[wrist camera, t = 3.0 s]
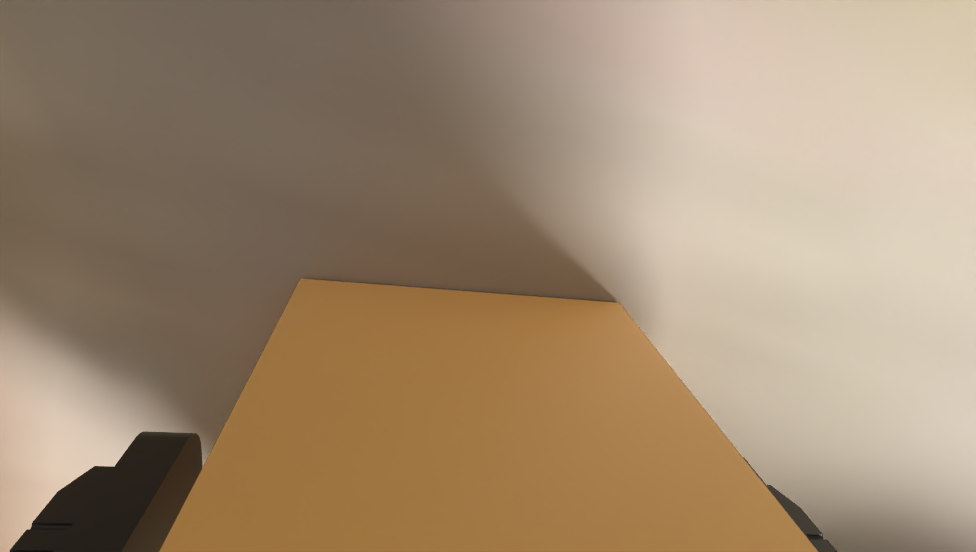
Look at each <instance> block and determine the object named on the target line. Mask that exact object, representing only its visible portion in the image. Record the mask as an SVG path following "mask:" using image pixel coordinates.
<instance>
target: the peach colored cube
mask: <svg viewBox="0 0 976 552" xmlns="http://www.w3.org/2000/svg"><path fill="white" fill-rule="evenodd" d="M159 552H818V551H817V550H816V548H815V547H814V546H813V545H812V543H811V542H810V541H809V540H808V538H807V537H806V536H805V535H804V533H803V532H802V531H801V530H800V528H799V527H798V526H797V525H796V523H795V522H794V521H793V520H792V518H791V517H790V516H789V515H788V513H787V512H786V511H785V509H784V508H783V507H782V506H781V504H780V503H779V502H778V501H777V499H776V498H775V497H774V496H773V494H772V493H771V492H770V491H769V489H768V488H767V487H766V486H765V484H764V483H763V482H762V481H761V479H760V478H759V477H758V476H757V474H756V473H755V472H754V471H753V469H752V468H751V467H750V466H749V464H748V463H747V462H746V461H745V459H744V458H743V457H742V456H741V454H740V453H739V452H738V451H737V449H736V448H735V447H734V446H733V444H732V443H731V442H730V441H729V439H728V438H727V437H726V436H725V434H724V433H723V432H722V431H721V429H720V428H719V427H718V426H717V424H716V423H715V422H714V421H713V419H712V418H711V417H710V416H709V414H708V413H707V412H706V411H705V409H704V408H703V407H702V406H701V404H700V403H699V402H698V401H697V399H696V398H695V397H694V396H693V394H692V393H691V392H690V391H689V389H688V388H687V387H686V386H685V384H684V383H683V382H682V381H681V379H680V378H679V377H678V376H677V374H676V373H675V372H674V371H673V369H672V368H671V367H670V366H669V364H668V363H667V362H666V361H665V359H664V358H663V357H662V356H661V354H660V353H659V352H658V351H657V349H656V348H655V347H654V346H653V344H652V343H651V342H650V341H649V339H648V338H647V337H646V336H645V334H644V333H643V332H642V331H641V329H640V328H639V327H638V326H637V324H636V323H635V322H634V321H633V319H632V318H631V317H630V316H629V314H628V313H627V312H626V311H625V309H624V308H623V307H622V306H621V304H620V303H617V302H604V301H591V300H577V299H564V298H551V297H538V296H525V295H512V294H498V293H485V292H472V291H459V290H446V289H433V288H419V287H406V286H393V285H380V284H367V283H354V282H340V281H327V280H314V279H300V281H299V282H298V284H297V286H296V288H295V290H294V292H293V294H292V296H291V298H290V300H289V302H288V304H287V306H286V308H285V310H284V311H283V313H282V315H281V317H280V319H279V321H278V323H277V325H276V327H275V329H274V331H273V333H272V335H271V337H270V339H269V341H268V342H267V344H266V346H265V348H264V350H263V352H262V354H261V356H260V358H259V360H258V362H257V364H256V366H255V368H254V370H253V371H252V373H251V375H250V377H249V379H248V381H247V383H246V385H245V387H244V389H243V391H242V393H241V395H240V397H239V399H238V400H237V402H236V404H235V406H234V408H233V410H232V412H231V414H230V416H229V418H228V420H227V422H226V424H225V426H224V428H223V429H222V431H221V433H220V435H219V437H218V439H217V441H216V443H215V445H214V447H213V449H212V451H211V453H210V455H209V457H208V458H207V460H206V462H205V464H204V466H203V468H202V470H201V472H200V474H199V476H198V478H197V480H196V482H195V484H194V486H193V487H192V489H191V491H190V493H189V495H188V497H187V499H186V501H185V503H184V505H183V507H182V509H181V511H180V513H179V515H178V516H177V518H176V520H175V522H174V524H173V526H172V528H171V530H170V532H169V534H168V536H167V538H166V540H165V542H164V544H163V545H162V547H161V549H160V551H159Z"/></svg>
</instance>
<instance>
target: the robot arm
mask: <svg viewBox="0 0 976 552" xmlns="http://www.w3.org/2000/svg"><path fill="white" fill-rule="evenodd" d="M743 458H744V457H743ZM744 459H745V458H744ZM745 461H746V460H745ZM746 462H747V461H746ZM747 463H748V462H747ZM748 464H749V463H748ZM749 466H750V464H749ZM750 467H751V466H750ZM751 468H752V467H751ZM752 469H753V468H752ZM201 470H202V453H201V442H200V438H199V436H198V434H196V433H168V432H142V433H140V434H139V435H138V436H137V437H136V438H135V439H134V441H133V442H132V443H131V445H130V446H129V447H128V449H127V450H126V452H125V453H124V454H123V456H122V457H121V458H120V460H119V461H118V463H117V464H116V465H115V467H104V466H94V467H93V468H91V469H90V470H89V471H87V472H86V473H84V474H83V475H81V476H80V477H78V478H77V479H76V480H74V481H73V482H71V483H70V484H68V485H67V486H65V487H64V488H62V489H61V490H60V491H58V492H57V493H56V494H55V496H54V497H53V498H52V499H51V501H50V502H49V503H48V504H47V505H46V507H45V508H44V509H43V510H42V512H41V513H40V514H39V515H38V516H37V518H36V519H35V520H34V521H33V523H32V527H31V529H30V530H26V531H25V532H24V534H23V535H22V536H21V537H20V539H19V540H18V541H17V542H16V543H15V545H14V546H13V547H12V548H11V550H10V552H159V551H160V549H161V547H162V545H163V544H164V542H165V540H166V538H167V536H168V534H169V532H170V530H171V528H172V526H173V524H174V522H175V520H176V518H177V516H178V515H179V513H180V511H181V509H182V507H183V505H184V503H185V501H186V499H187V497H188V495H189V493H190V491H191V489H192V487H193V486H194V484H195V482H196V480H197V478H198V476H199V474H200V472H201ZM753 471H754V469H753ZM754 472H755V471H754ZM755 473H756V472H755ZM756 474H757V473H756ZM757 476H758V477H759V475H758V474H757ZM759 478H760V477H759ZM760 479H761V478H760ZM761 481H762V482H763V480H762V479H761ZM763 483H764V482H763ZM764 484H765V483H764ZM765 486H766V487H767V488H768V489H769V491H770V492H771V493H772V494H773V496H774V497H775V498H776V499H777V501H778V502H779V503H780V504H781V506H782V507H783V508H784V509H785V511H786V512H787V513H788V515H789V516H790V517H791V518H792V520H793V521H794V522H795V523H796V525H797V526H798V527H799V528H800V530H801V531H802V532H803V533H804V535H805V536H806V537H807V538H808V540H809V541H810V542H811V543H812V545H813V546H814V547H815V548H816V550H817V551H818V552H837V551H836V550H835V549H834V547H833V546H832V545H831V544H830V543H829V541H828V540H824V539H823V537H822V536H823V534H822V533H821V532H820V531H819V530H818V528H817V527H816V526H815V525H814V524H813V522H812V521H811V520H810V519H809V518H808V516H807V515H806V514H805V513H804V512H803V510H802V509H801V508H800V507H798V506H797V505H796V504H795V503H793V502H792V501H791V500H789V499H788V498H787V497H785V496H784V495H783V494H781V493H780V492H779V491H777V490H776V489H775V488H773V487H772V486H771V485H766V484H765Z"/></svg>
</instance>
